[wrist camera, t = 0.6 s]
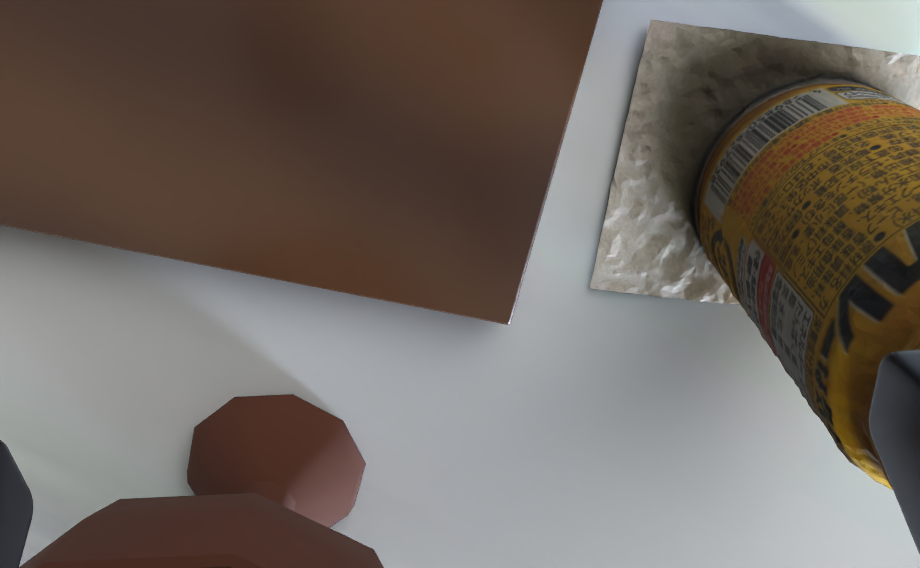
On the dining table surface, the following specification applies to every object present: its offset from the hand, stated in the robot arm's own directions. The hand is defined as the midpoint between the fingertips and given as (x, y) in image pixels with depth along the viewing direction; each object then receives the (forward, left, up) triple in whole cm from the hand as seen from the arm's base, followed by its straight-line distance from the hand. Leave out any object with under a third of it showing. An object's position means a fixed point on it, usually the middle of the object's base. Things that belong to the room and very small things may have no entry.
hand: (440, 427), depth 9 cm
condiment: (0, -9, -14) cm, 17 cm away
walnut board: (0, +7, -14) cm, 16 cm away
